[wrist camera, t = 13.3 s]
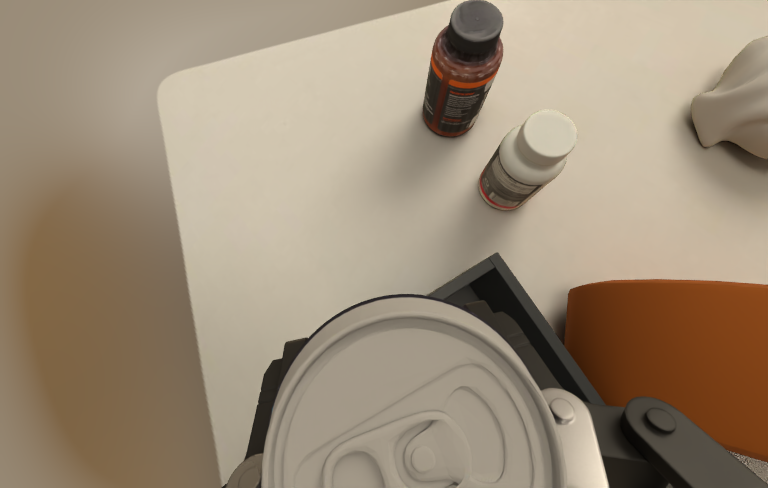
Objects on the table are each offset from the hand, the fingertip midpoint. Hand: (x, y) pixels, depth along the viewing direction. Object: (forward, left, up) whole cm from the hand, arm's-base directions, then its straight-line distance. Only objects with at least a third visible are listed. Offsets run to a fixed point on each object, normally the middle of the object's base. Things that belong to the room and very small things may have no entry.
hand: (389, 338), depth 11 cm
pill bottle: (+18, +6, -19) cm, 26 cm away
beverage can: (-1, -2, -6) cm, 6 cm away
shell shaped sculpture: (+45, -1, -19) cm, 48 cm away
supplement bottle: (+18, +16, -19) cm, 30 cm away
